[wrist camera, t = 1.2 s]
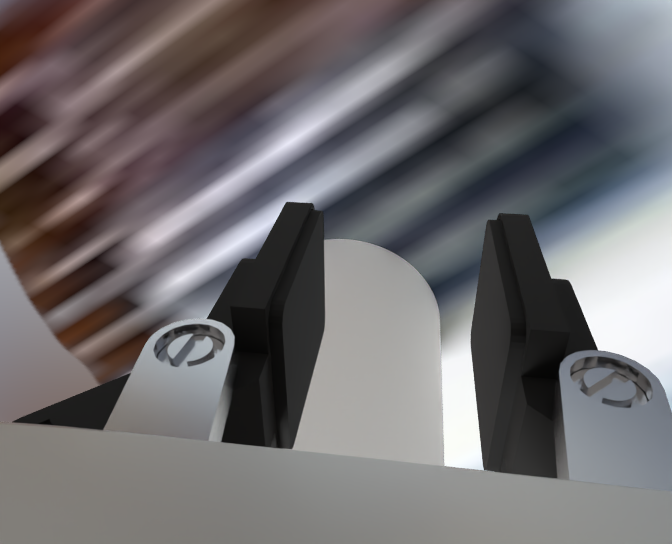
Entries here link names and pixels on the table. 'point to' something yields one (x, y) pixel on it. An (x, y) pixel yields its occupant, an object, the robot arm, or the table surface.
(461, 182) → the table surface
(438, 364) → the canister
